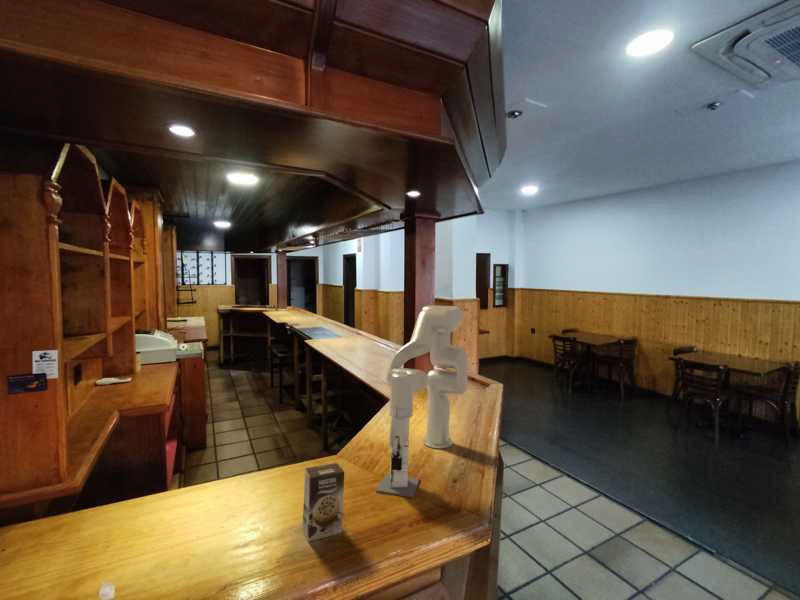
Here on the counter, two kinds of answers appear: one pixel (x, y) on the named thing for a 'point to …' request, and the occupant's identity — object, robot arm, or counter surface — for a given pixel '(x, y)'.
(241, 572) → the counter surface
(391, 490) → the mat
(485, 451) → the counter surface
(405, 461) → the syrup box
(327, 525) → the cookie box
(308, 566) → the counter surface
